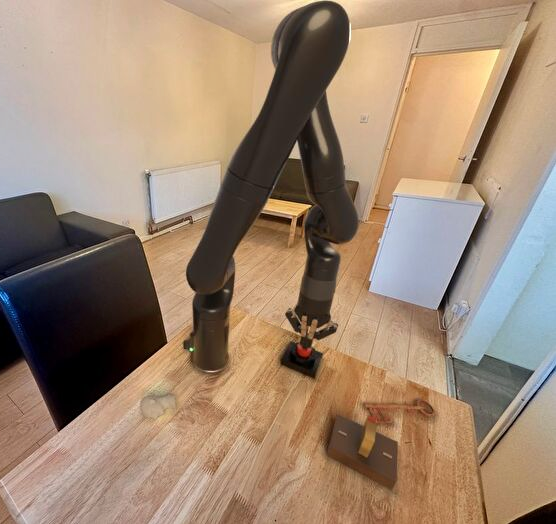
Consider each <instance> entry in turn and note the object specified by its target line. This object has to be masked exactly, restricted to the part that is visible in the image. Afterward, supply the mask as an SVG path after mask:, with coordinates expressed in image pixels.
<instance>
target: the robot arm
mask: <svg viewBox="0 0 556 524" xmlns="http://www.w3.org/2000/svg"><path fill="white" fill-rule="evenodd" d="M350 21H351V20H350V17H349V14H348V12H347V11H346V10H345V8H344V7H343V6H342V4H340V3H338V2H336V1H334V0H317V1H314V2H309V3H308V4H306V5H302V6H300V7H298V8H296V9H294V10H292V11H290V12H289V13H287V14H286V15H285V16H284V18H282V19H281V21H279V23H278V25H277V26H276V28H275V30H274V32H273V35H272V38H271V43H270V59H271V62H272V63H271V64H272V65H273V66H272V67H273V68H274V73H273V76H272V79H271V82H270V85H269V88H268V91H267V94H266V96H265V100H264V102H263V104H262V105H261V108H260V111H259V113H258V114H257V117H256V118H255V120H254V121H253V123H252V125H251V126H250V127H249V128H248V131H247V132H246V133H245V134H244V136H243V138H242V139H241V140H240V142H239V143H238V145H237V147H236V148H235V151H234V152H233V154H232V156H231V158H230V160H229V162H228V165H227V168H226V170H225V172H224V175H223V177H222V179H221V184H220V186H219V189H218V191H217V195H216V198H215V200H214V203H213V206H212V208H211V211H210V214H209V218H208V220H207V223H206V226H205V229H204V232H203V234H202V236H201V239H200V240H199V242H198V244H197V246H196V248H195V250H194V252H193V253H192V256H191V257H190V259H189V261H188V263H187V265H186V269H185V277H186V278H185V279H186V281H187V284H188V287H189V288H190V289H191V290H192V291H193V292H194V295H193V298H192V303H191V305H192V306H191V307H192V330H191V332H190V333H189V338H188V339H185V340H184V341H183V343H182V347H183V350H188V351H189V355H190V359H189V360H190V362H192V363H193V365H194V368H195V369H196V370H197V371H199V372H201V373H203V374H207V375H215V374H219V373H221V372H223V371H224V370H225V369H226V368H227V366H228V363H229V362H228V361H229V360H230V357H229V337H230V320H231V319H230V318H231V317H230V315H231V305H232V301H233V297H234V293H235V292H234V291H235V280H236V260H235V258H234V257H235V256H234V255H235V253H236V251H237V249H238V247H239V246H240V244H241V243H242V241H243V240H244V239H245V237H246V236H247V235H248V233H249V232H250V230H251V229H252V227H253V226H254V224H255V223H256V222H257V220H258V218H259V217H260V215H261V213H262V212H263V210H264V208H265V207H266V205H267V203H268V201H269V199H270V198H271V195H272V193H273V191H274V189H275V187H276V185H277V183H278V182H279V179H280V177H281V174H282V173H283V170H284V168H285V166H286V165H287V162H288V160H289V158H290V156H291V154H292V152H293V150H294V148H295V145H296V144H297V148H298V152H299V159H300V164H301V171H302V175H303V181H304V187H305V192H306V196H307V198H308V200H309V201H310V202H311V203H312V204H314V205H313V206H312V207H311V208H310V209H309V211H307V213H306V216H305V218H304V224H303V225H304V226H303V232H304V242H305V251H306V260H305V265H304V270H303V271H304V272H303V274H302V276H301V280H300V285H299V291H298V298H297V299H298V300H297V304H296V305H295V307H294V308H291V307H289V308H287V310H286V312H285V313H284V315H285V318H286V319H287V320H288V322H289V324H290V326H291V327H292V329H293V331H294V332H295V333H298V334H300V340H299V342H300V345H302V348H304V349H308V348H310V347H311V346H312V347H313V343H314V339H315V340H316V341H321V340H323V339H325V338H327V337H329V336H332V335H333V334H335V333H337V331H338V328H339V323H337V322H334V321H333V320H332V315H331V309H332V304H333V302H334V297H335V293H336V287H337V280H338V274H339V269H340V266H341V261H342V255H341V254H340V252H339V251H338V250H337V249H336V248H335V247H333V246H332V244H334V245H339V246H341V245H346V244H348V243H349V242H352V240H354V239H355V237H356V235H357V233H358V230H359V226H360V219H359V214H358V211H357V208H356V206H355V203H354V200H353V198H352V196H351V194H350V191H349V190H348V187H347V183H346V182H347V179H346V171H345V160H344V154H343V150H342V146H341V143H340V142H341V141H340V139H339V136H338V133H337V130H336V127H335V125H334V121H333V118H332V115H331V110H330V107H329V101H328V95H327V89H328V88H329V86H330V84H331V83H332V81H333V80H334V78H335V76H336V74H338V72H339V70H340V68H341V66H342V64H343V62H344V60H345V58H346V56H347V53H348V50H349V45H350V42H351V22H350ZM325 325H326V326H325ZM323 326H325V327H324V328H322V327H323ZM317 329H319V330H318V331H317Z"/></svg>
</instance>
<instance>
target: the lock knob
mask: <svg viewBox="0 0 556 524" xmlns="http://www.w3.org/2000/svg"><path fill="white" fill-rule="evenodd" d="M377 421H378V420H377V418H374V417H372V415H369V414H367V415H366V418H365V421H364V423H363V428H362V431H361V436H360V443H359V449H358V453H359V454H361V455H363V456H365V457H368V455H369V453H370V451H371V449H372V446H373V444H374V442H375V434H376V432H377Z"/></svg>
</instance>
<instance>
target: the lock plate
mask: <svg viewBox="0 0 556 524" xmlns="http://www.w3.org/2000/svg"><path fill="white" fill-rule="evenodd" d="M363 426H364V424H363V425H362V424H360V423H358V422H356V421H354V420H352V419H349V418H348V417H346V416H344V415H341V414H339V413H337V414H336V417H335V420H334V424H333V426H332V427H333V428H332V432H331V436H330V441H329V444H328V449H327V453H326V456H327V457H329V458H331V459H333V460H335V461H336V462H338V463H340V464H342V465H344V466H346V467H347V468H350V469H351V470H353V471H355V472H356V473H359V474H360V475H362V476H364V477H366V478H368V479H370V480H372V481H373V482H375V483H377V484H379V485H381V486H382V487H385V488H386V489H388V490H390V491H393V488H394V487H395V485H396V483H397V482H398V481H397V480H398V448H399V442H398V441H397V440H394V439H392V438H390V437H389V436H386V435H385V434H383V433H380V432H377V431H376V434H375V442H374V444H373V446H372V449H371V451H370V453H369V455H368V457H365V456H363V455H361V454H359V453H358V449H359V443H360V436H361V431H362V428H363Z"/></svg>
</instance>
